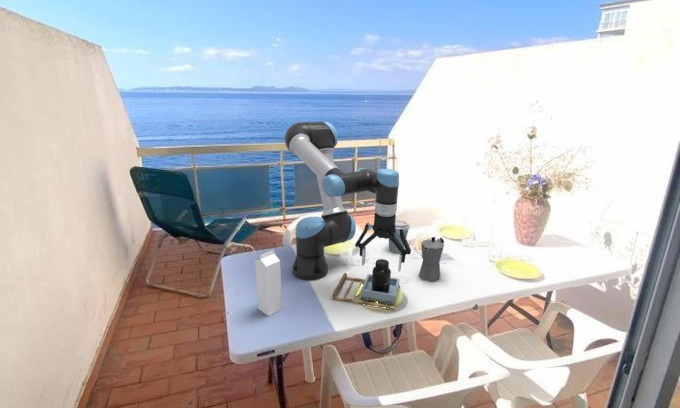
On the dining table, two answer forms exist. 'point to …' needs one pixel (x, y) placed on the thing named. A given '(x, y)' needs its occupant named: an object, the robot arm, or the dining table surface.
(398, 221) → the disposable coffee cup
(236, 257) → the dining table surface
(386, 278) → the supplement bottle
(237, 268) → the dining table surface
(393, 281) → the shallow square tray
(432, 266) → the coffeepot
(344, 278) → the wooden rack
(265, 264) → the milk
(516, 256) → the dining table surface
